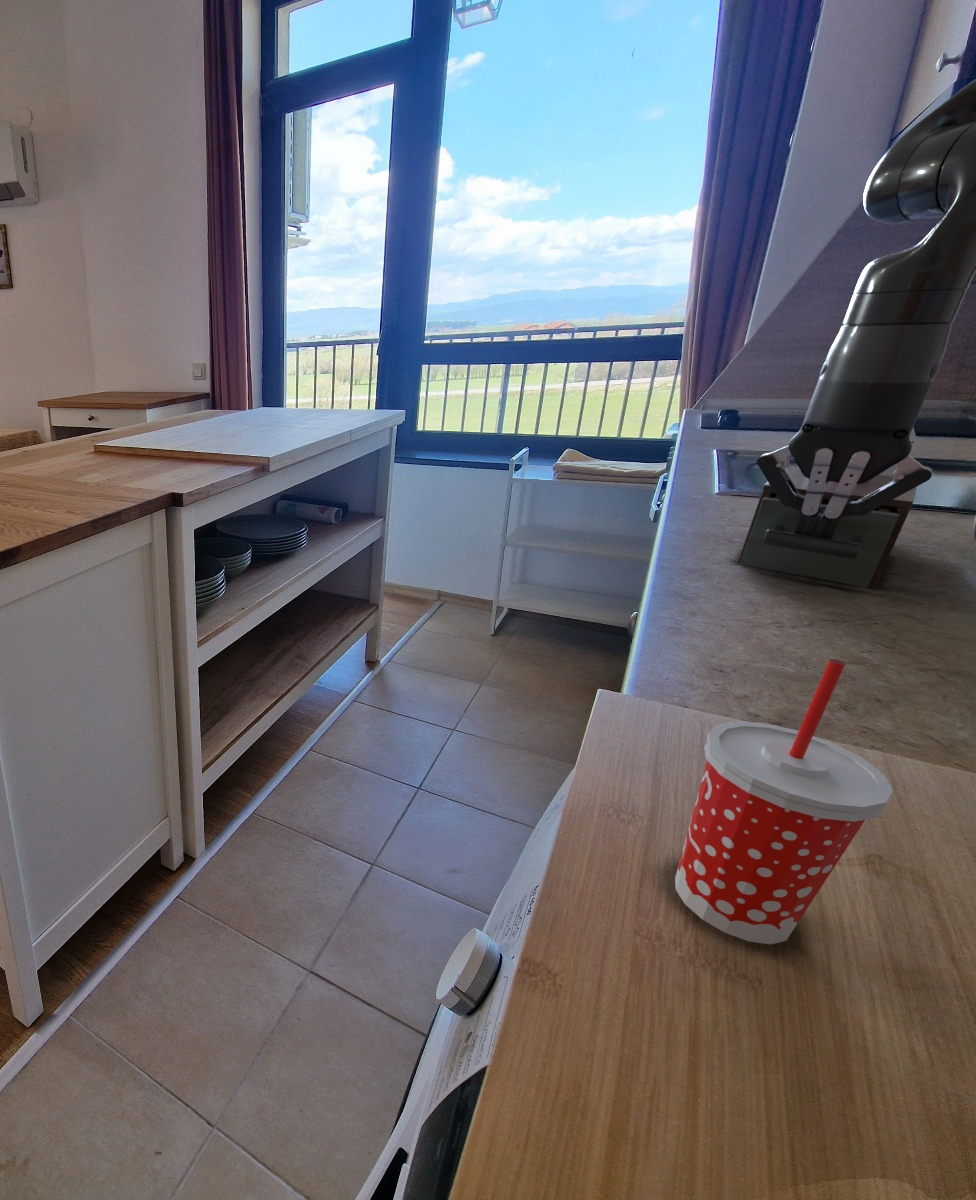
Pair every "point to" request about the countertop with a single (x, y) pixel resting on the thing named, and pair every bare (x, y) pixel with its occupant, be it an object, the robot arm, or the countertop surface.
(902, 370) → the robot arm
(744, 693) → the countertop surface
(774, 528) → the drawer
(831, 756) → the beverage cup
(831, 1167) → the countertop surface
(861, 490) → the cabinet
